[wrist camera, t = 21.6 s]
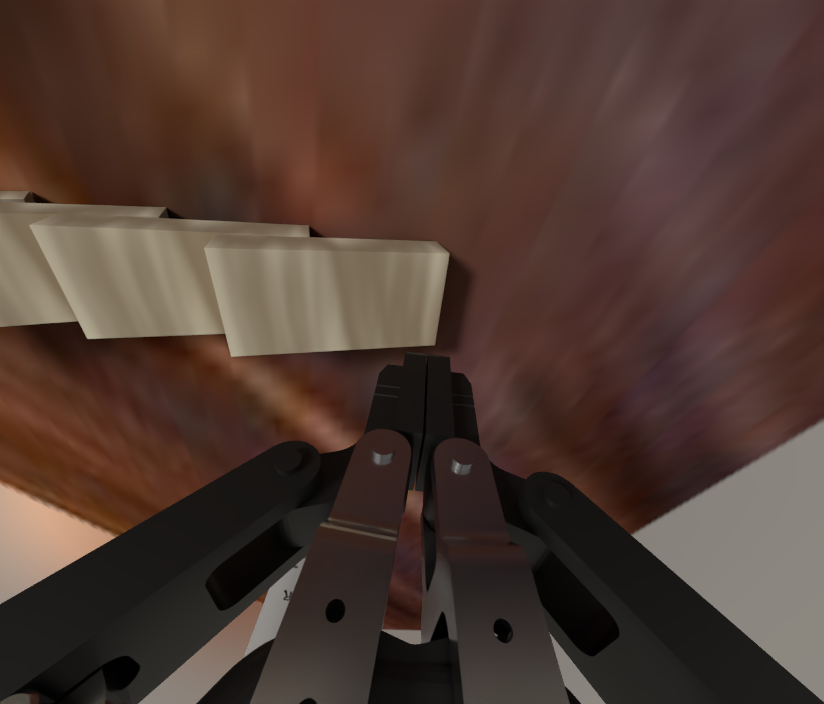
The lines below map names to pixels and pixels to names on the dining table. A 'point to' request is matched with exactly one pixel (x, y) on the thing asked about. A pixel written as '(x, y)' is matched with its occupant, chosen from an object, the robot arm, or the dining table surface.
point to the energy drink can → (274, 608)
